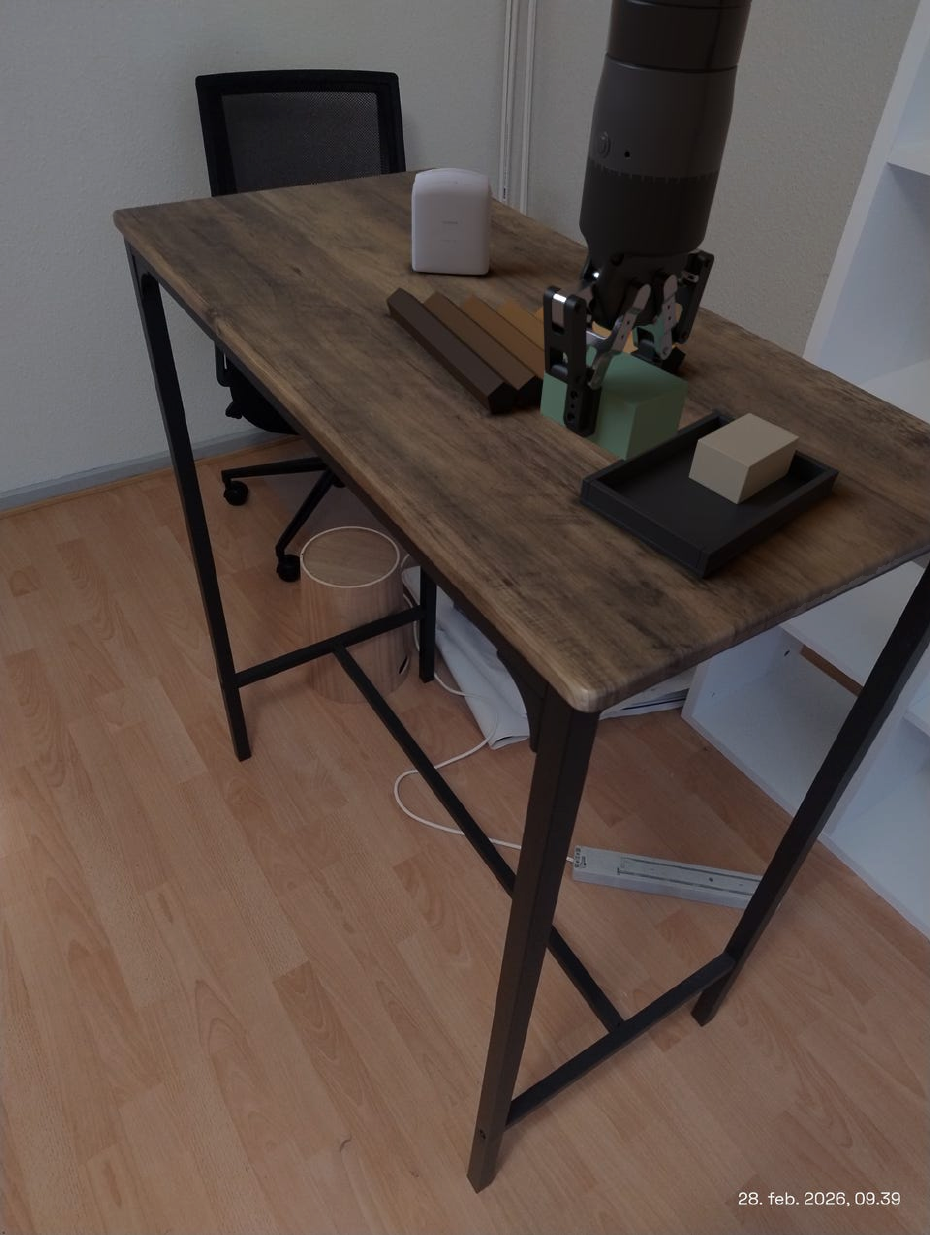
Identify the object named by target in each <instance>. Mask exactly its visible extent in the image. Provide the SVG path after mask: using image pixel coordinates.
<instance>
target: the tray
mask: <svg viewBox="0 0 930 1235" xmlns="http://www.w3.org/2000/svg"><path fill="white" fill-rule="evenodd" d="M735 420H736V419H735V418H733V417H731V416H728V415H727V414H724V413H722V412H720V411H719V410H716V411H714V412H711V413H710V414H707V415H706V416H703V417H702V418H700V419H697V420H695V421H694V422H692V423H689V424H688V425H686V426H683V427H682V428H680V429H678V432H677V435H676V436H674V437H672V438H670V439H668V440H666V441H664V442H662V443H660V444H658V445H656V446H654V447H652V448H650V449H648V450H646V451H645V452H643V453H641V454H639V455H637V456H635V457H633V458H631V459H629V460H627V461H624V460H623V459H621V458H620V459H619V460H617V461H615V462H613V463H611V464H609V465H607V466H605V467H603V468H601V469H599V470H597V471H595V472H593V473H591V474H589V475H587V476H584V478H582V483H581V487H580V488H581V489H580V493H579V494H580V495H579V500H578V502H579V503H580V504H582V505H583V506H585V507H586V508H588V509H590V510H591V511H594V512H595V513H596V514H598V515H599V516H601V517H603V518H605V519H606V520H607V521H609V522H611V523H612V524H614V525H615V526H617V527H619V528H620V529H622V530H624V531H625V532H627V533H628V534H630V535H632V536H633V537H635V538H637V539H638V540H639V541H641V542H643V543H644V544H645V545H647V546H649V547H650V548H652V549H654V550H656V551H658V552H659V553H660V554H662V555H663V556H665V557H667V558H668V559H670V560H672V561H673V562H675V563H676V564H678V565H680V566H681V567H682V568H684V569H686V570H687V571H689V572H691V573H692V574H694V575H695V576H697V577H699V578H701V579H705V578H706V577H707V576H709V575H710V574H712V573H714V572H715V571H716V570H718V569H719V568H721V567H722V566H724V565H726V564H727V563H728V562H730V561H732V560H733V559H735V558H736V557H738V556H739V555H740V554H742V553H744V552H745V551H746V550H748V549H750V548H751V547H752V546H754V545H756V544H758V542H760V541H761V540H763V539H765V538H766V537H767V536H769V535H771V534H772V533H774V532H775V531H777V530H779V529H780V528H781V527H783V526H785V525H786V524H787V523H789V522H790V521H792V520H794V519H795V518H797V517H798V516H799V515H801V514H802V513H803V512H805V511H807V510H808V509H810V508H812V507H813V506H814V505H816V504H817V503H819V502H820V501H822V500H823V499H825V498H826V497H828V496H830V495H831V493H832V491H833V488H834V486H835V483H836V482H837V481H836V480H837V478H838V476H839V473H840V471H839V470H838V469H837V468H834V467H832V466H831V465H828V464H826V463H824V462H822V461H820V460H818V459H817V458H815V457H812V456H810V455H807V454H805V453H803V452H802V451H799V450H797V449H796V450H795V453H794V456H793V459H792V461H791V464H790V467H789V470H788V473H787V474H786V475H785V476H783V477H782V478H780V479H778V480H777V481H775V482H773V483H772V484H770V485H768V486H767V487H765V488H764V489H762V490H760V491H759V492H757V493H755V494H754V495H752V496H750V497H749V498H747V499H746V500H744V501H742V502H741V503H739V504H736V503H734V502H732V501H730V500H729V499H727V498H725V497H723V496H721V495H720V494H718V493H716V492H714V491H712V490H711V489H709V488H707V487H705V486H703V485H702V484H700V483H698V482H696V481H694V480H693V479H691V478H689V473H690V470H691V466H692V462H693V458H694V454H695V451H696V447H697V443H698V440H699V439H701V438H703V437H705V436H707V435H709V434H711V433H712V432H714V431H716V430H718V429H720V428H722V427H724V426H726V425H728V424H730V423H731V422H733V421H735Z"/></svg>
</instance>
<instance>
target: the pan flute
mask: <svg viewBox="0 0 930 1235" xmlns="http://www.w3.org/2000/svg"><path fill="white" fill-rule="evenodd" d="M385 302H386V305H387V307H388V311H389V313H390V317H391V318H393V320H394V321H396V322H397V324H398V325H400V327H401V328H403V329H404V331H405V332H407V333H408V334H409V335H410V336H411V338H413V339H414V340H415V341H416V342H417V343H418V344H419V345H420V346H421V347H422V348H423V349H424V351H426V352H427V353H428V354H429V355H430V356H431V357H433V358H434V360H435V361H437V363H438V364H439V365H440V366H441V367H443V368H444V370H445V371H446V372H448V373H449V375H450V376H452V377H453V378H454V379H455V380H456V381H457V382H458V383H459V384H460V385H461V386H462V387H463V388H464V389H465V390H466V391H467V392H468V393H469V394H470V395H471V396H472V397H473V398H474V399H475V400H476V401H477V402H478V403H479V404H480V405H481V406H482V407H483V408H484V409H485V410H486V411H488V412H489V414H491V415H495V414H499V413H504V412H509V411H511V409H512V407H513V404H514V402H515V403H516V404H517V405H519V407H521V408H526V407H530V406H535V405H541V399H542V391H543V382H544V373H545V353H544V320H543V306H541V307H540V308H539V309H538V310H537V311H535V313H534V314H532V313H531V312H530V311H528V310H527V309H526V308H524V307H523V306H522V305H520V304H519V303H517V302H516V301H515V300H513V298H508V299H507V301H505V303H503V304H502V305H501V306H500V307H499V308H497V309H496V310H495V309H494V308H492V307H491V306H490V305H489V304H488V303H487V302H485V301H483V300H482V299H480V298H479V297H478V296H476V295H475V294H472V295H471V296H470V297H468V299H467V300H465V301H464V302H463V303H462V304H461V305H460V306H458V305H457V304H456V303H454V301H452V300H451V299H450V298H448V297H446V296H445V295H443V294H442V293H441V292H439V291H438V290H435V291H434V292H433V293H432V294H431V295H430V296H429V297H428V298H427V299H425V301H424V302H423V303H422V302H421V301H420V300H419V299H418V298H417V297H416V296H414V295H413V294H411V293H410V292H409V291H407V290H405V289H404V288H402V287H401V286H399V287H398V288H396V289H395V291H393V293H391V294H390V296H389V297H387V298H386V299H385ZM592 328H593V331H594V332H596V333H598V334H600V335H602V336H604V337H606V338H607V337H609V336H610V334H611V331H609V330H607V329H605V328H603V327H600V326H599V325H597V324H596V323H595V322H594V321H593V325H592ZM635 350H638V348H636V347H635V346H634V344H633V336H632V331H631V332H630V334H629V337H628V339H627V341H626V344H625V346H624V348H623V351H624V352H626V353H628V354H630V353H631V352H632V351H635ZM563 354H565V353H564V352H563ZM686 356H687V355H686V353H685V352H684V351H682V350H681V349H680V348H679V347H678V346H676V345H675V344H674V345H672V351H671V353H670V355H669V356H668V357H667V358H666V359H665V360H663V362H662V367H661V369H662V370H664V371H666V372H668V373H670V374H672V375H675V374H678V373H679V372H678V371H679V370H680V368H681V366H682V363H683V361H684V360H685V357H686Z"/></svg>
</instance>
